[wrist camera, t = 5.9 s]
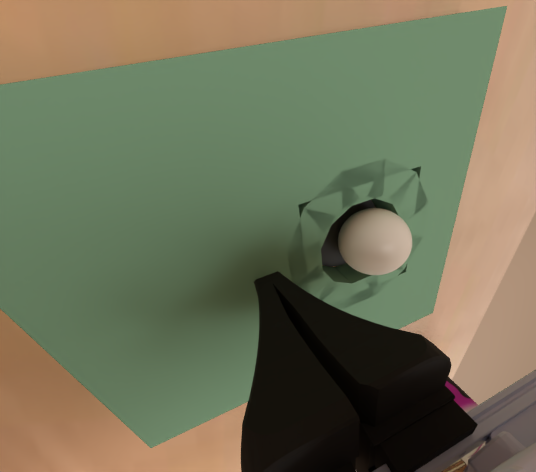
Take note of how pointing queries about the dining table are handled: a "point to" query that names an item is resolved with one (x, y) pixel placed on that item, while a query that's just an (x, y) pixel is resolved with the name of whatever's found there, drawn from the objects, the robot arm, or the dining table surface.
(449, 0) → the dining table surface
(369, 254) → the ball
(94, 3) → the dining table surface
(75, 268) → the putting mat
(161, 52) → the dining table surface
